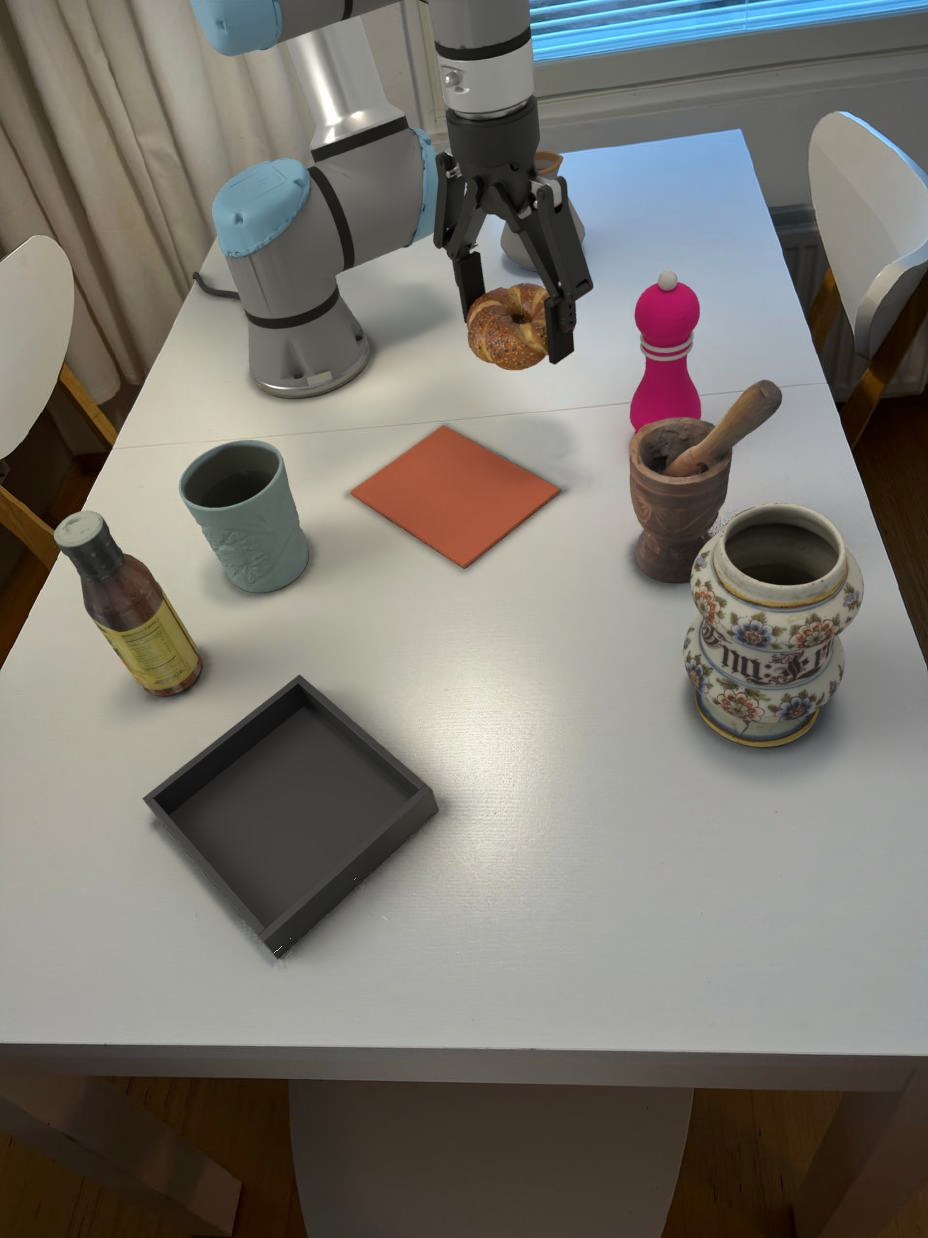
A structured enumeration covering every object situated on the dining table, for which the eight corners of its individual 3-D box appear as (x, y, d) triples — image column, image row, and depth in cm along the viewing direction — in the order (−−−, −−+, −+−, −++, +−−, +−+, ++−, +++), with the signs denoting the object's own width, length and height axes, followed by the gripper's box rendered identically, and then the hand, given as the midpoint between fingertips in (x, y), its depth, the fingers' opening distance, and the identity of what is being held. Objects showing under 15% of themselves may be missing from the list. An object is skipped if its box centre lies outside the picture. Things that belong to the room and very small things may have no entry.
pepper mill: (698, 468, 97) (707, 292, 82) (627, 467, 98) (623, 294, 83) (700, 424, 101) (710, 249, 86) (633, 423, 103) (630, 252, 88)
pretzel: (568, 374, 87) (565, 340, 85) (455, 377, 90) (449, 343, 87) (582, 303, 95) (580, 269, 92) (477, 307, 97) (471, 274, 95)
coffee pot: (594, 268, 125) (589, 153, 114) (510, 285, 125) (496, 173, 114) (562, 198, 139) (555, 89, 128) (486, 214, 139) (472, 107, 128)
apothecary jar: (863, 730, 74) (912, 575, 61) (722, 779, 73) (740, 632, 60) (785, 623, 82) (813, 464, 69) (657, 666, 81) (660, 513, 68)
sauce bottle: (145, 653, 91) (48, 501, 76) (208, 643, 91) (122, 488, 76) (135, 708, 87) (30, 558, 72) (201, 697, 86) (109, 545, 71)
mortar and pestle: (741, 513, 92) (760, 334, 77) (767, 577, 86) (792, 397, 71) (623, 532, 92) (619, 358, 77) (640, 596, 87) (639, 422, 72)
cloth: (350, 494, 102) (349, 491, 102) (443, 427, 107) (443, 425, 107) (464, 568, 92) (463, 565, 92) (560, 491, 97) (560, 488, 97)
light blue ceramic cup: (238, 612, 93) (194, 524, 84) (208, 553, 99) (165, 465, 90) (331, 569, 95) (298, 479, 86) (296, 513, 101) (262, 424, 92)
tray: (157, 818, 78) (141, 798, 76) (309, 696, 85) (299, 673, 82) (277, 959, 69) (263, 941, 66) (439, 810, 75) (432, 789, 73)
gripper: (364, 91, 81) (411, 316, 97) (565, 150, 68) (581, 398, 85) (428, 59, 84) (464, 283, 100) (633, 110, 71) (635, 358, 87)
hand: (517, 336), depth 92 cm, fingers closed on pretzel, 11 cm apart
